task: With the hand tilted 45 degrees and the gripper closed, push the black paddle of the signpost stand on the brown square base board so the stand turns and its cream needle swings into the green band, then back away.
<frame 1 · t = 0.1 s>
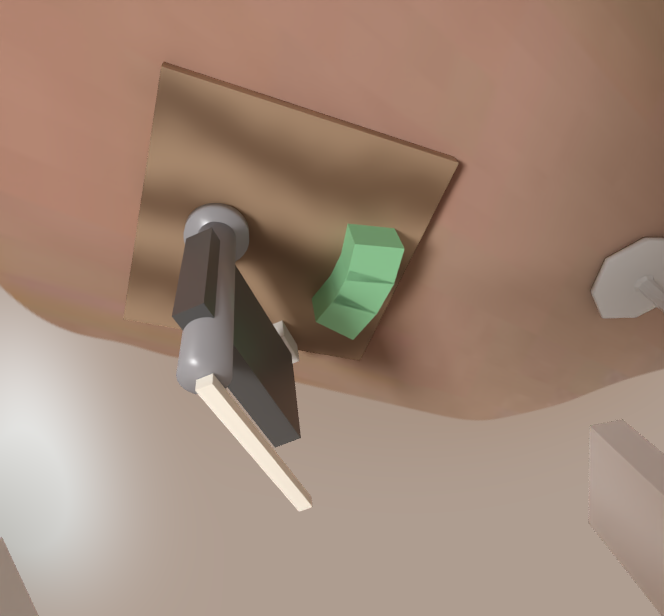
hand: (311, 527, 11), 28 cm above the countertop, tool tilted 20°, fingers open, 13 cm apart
wineglass: (634, 274, 46), on the countertop
gauge marks: (218, 221, 37), resting on brown square base board
signpost stand: (250, 349, 33), point 9 cm above the countertop, hinge at 0.0°
brown square base board: (281, 237, 38), on the countertop
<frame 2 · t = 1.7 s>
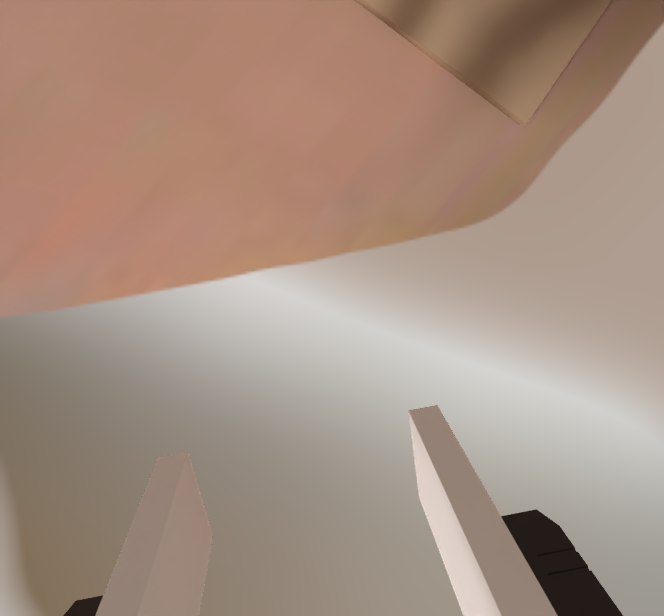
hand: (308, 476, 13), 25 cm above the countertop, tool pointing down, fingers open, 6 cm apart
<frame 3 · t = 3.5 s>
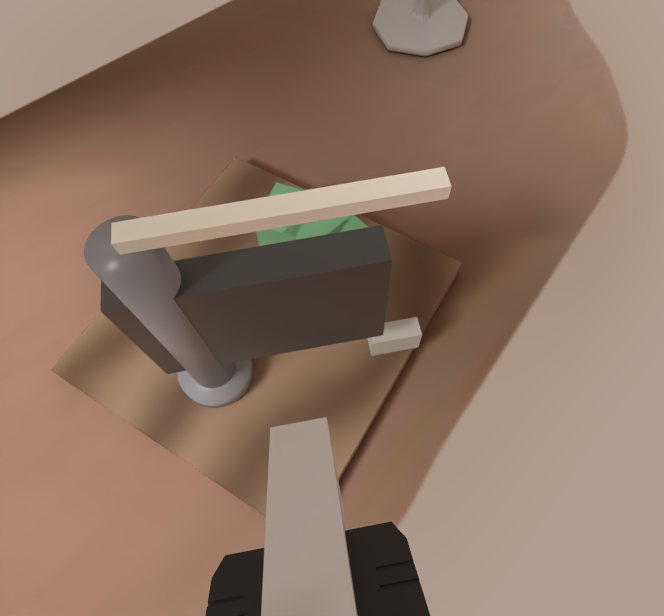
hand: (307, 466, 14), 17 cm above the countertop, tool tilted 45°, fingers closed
wineglass: (419, 28, 47), on the countertop
gauge marks: (223, 380, 33), resting on brown square base board
signpost stand: (279, 304, 25), point 9 cm above the countertop, hinge at 0.0°
brown square base board: (265, 322, 34), on the countertop
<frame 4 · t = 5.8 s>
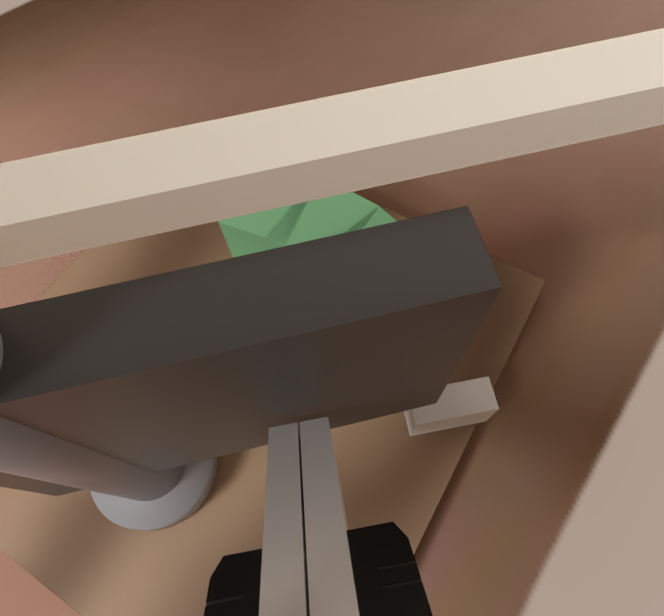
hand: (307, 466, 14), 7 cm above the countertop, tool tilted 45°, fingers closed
gauge marks: (172, 472, 20), resting on brown square base board
signpost stand: (250, 374, 13), point 9 cm above the countertop, hinge at 2.9°, touching gripper
brown square base board: (241, 374, 22), on the countertop
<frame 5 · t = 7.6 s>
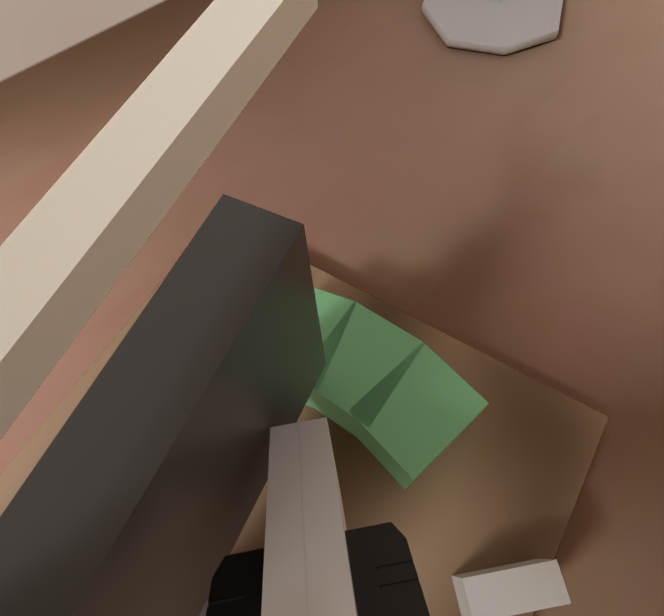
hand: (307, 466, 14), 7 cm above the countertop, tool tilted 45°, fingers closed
wineglass: (489, 14, 32), on the countertop
signpost stand: (183, 481, 12), point 9 cm above the countertop, hinge at 54.5°, touching gripper
brown square base board: (264, 521, 20), on the countertop
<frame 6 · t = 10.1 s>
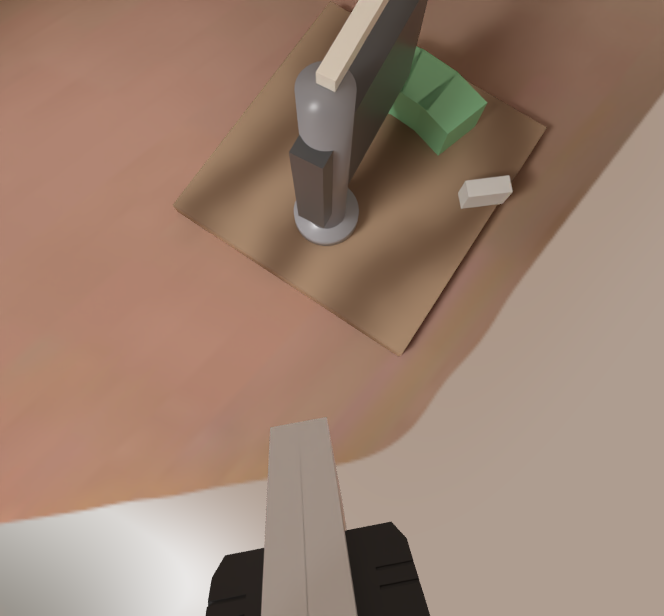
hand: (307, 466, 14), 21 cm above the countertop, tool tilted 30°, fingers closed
gauge marks: (326, 223, 37), resting on brown square base board
signpost stand: (366, 94, 29), point 9 cm above the countertop, hinge at 54.6°
brown square base board: (362, 173, 38), on the countertop
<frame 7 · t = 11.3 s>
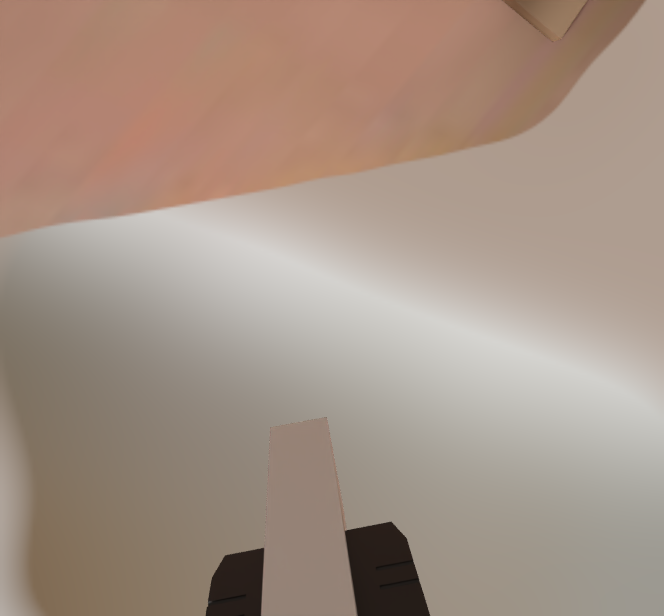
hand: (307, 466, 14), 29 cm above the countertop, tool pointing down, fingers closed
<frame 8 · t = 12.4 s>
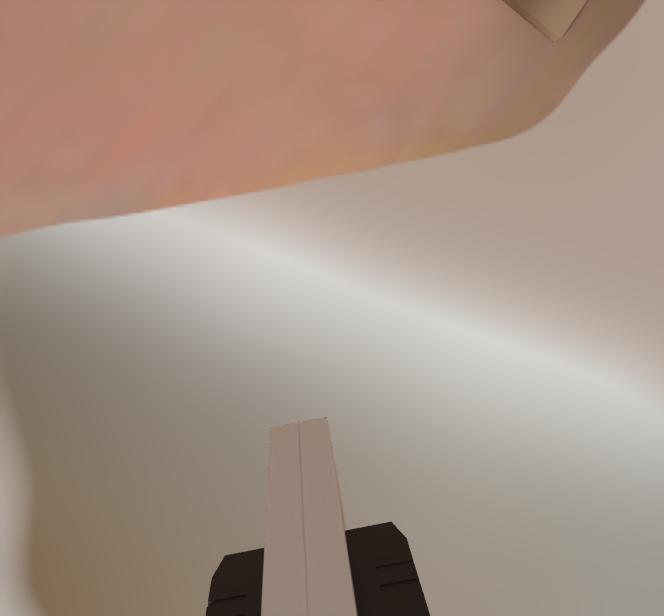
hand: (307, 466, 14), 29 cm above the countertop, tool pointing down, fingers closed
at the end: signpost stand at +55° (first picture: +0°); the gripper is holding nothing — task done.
